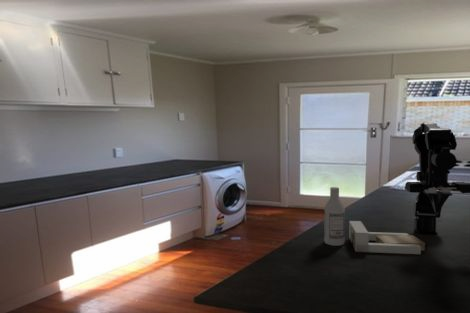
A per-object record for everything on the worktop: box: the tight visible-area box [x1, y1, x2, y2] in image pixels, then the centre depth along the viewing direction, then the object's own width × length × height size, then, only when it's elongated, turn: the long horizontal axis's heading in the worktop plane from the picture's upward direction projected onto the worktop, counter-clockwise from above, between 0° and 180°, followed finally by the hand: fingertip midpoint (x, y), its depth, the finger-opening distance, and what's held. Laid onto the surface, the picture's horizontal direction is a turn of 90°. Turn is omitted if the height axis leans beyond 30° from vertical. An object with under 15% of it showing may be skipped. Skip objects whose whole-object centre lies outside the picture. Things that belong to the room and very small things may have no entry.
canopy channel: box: [348, 220, 422, 255], centre depth 120 cm, size 20×14×6 cm
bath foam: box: [323, 186, 346, 247], centre depth 123 cm, size 7×7×20 cm
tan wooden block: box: [375, 234, 426, 251], centre depth 119 cm, size 13×8×3 cm, turn 89°
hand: (436, 212), depth 116 cm, fingers closed
